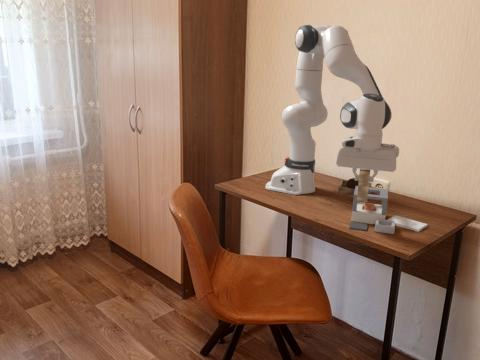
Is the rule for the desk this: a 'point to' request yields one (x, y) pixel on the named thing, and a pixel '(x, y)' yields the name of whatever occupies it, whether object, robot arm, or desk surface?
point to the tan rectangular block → (363, 185)
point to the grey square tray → (384, 226)
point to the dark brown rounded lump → (352, 183)
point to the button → (369, 206)
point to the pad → (358, 226)
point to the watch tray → (347, 190)
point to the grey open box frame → (368, 215)
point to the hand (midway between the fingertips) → (363, 181)
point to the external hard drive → (408, 223)
